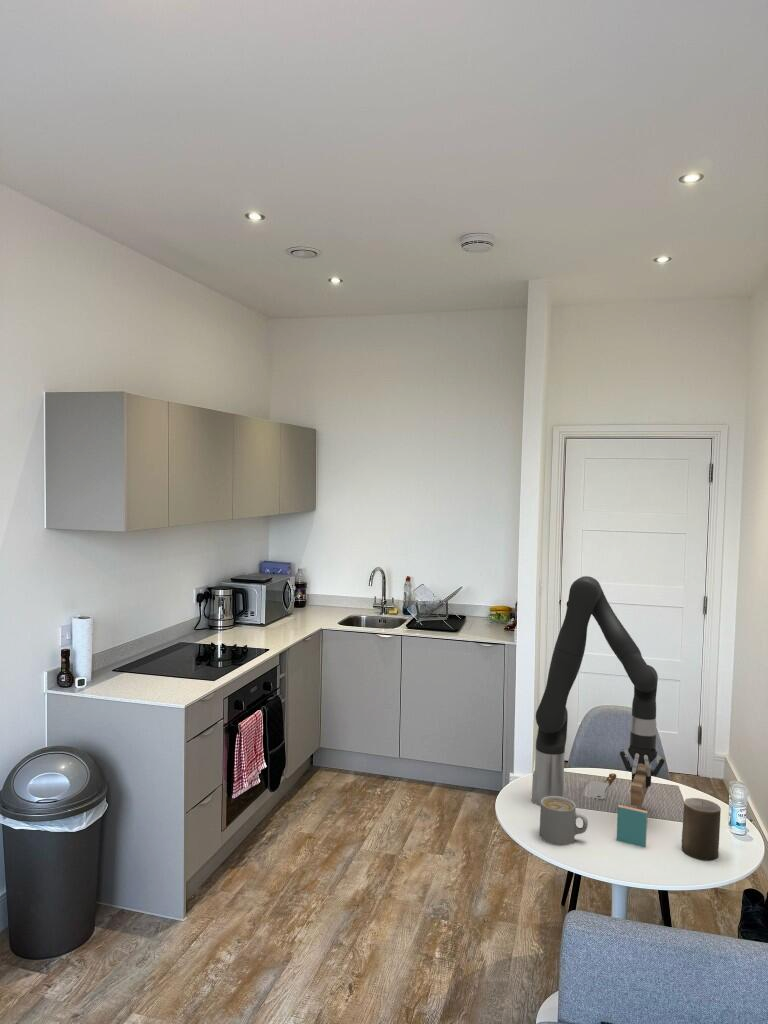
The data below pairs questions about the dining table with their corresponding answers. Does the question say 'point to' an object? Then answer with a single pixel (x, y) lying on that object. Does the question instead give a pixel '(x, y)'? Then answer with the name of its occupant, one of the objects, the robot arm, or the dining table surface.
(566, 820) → the coffee mug
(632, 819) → the tile
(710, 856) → the pillar candle
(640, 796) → the curved tan slat
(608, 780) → the kitchen cleaver
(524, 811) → the dining table surface
